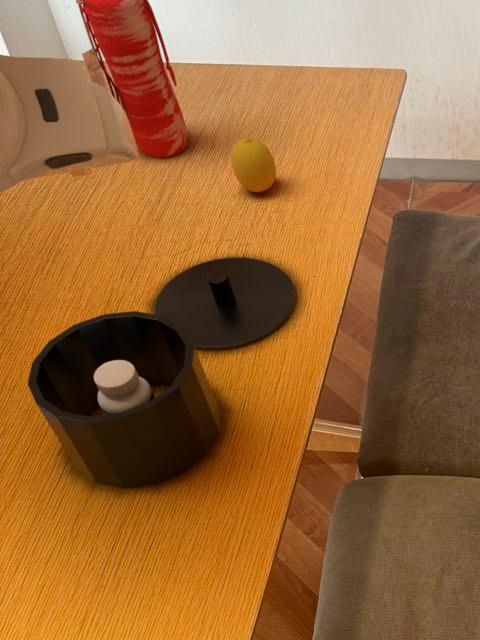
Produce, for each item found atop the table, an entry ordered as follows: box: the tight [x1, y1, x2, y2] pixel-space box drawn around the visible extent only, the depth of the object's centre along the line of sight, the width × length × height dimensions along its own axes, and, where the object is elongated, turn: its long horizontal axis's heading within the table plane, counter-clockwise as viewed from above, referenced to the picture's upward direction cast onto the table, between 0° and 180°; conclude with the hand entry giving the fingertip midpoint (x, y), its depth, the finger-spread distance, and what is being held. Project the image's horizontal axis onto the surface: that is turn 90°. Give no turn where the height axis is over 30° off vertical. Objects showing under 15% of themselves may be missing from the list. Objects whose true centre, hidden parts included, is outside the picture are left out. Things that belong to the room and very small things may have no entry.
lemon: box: [231, 136, 277, 193], centre depth 120 cm, size 6×6×8 cm
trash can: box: [27, 310, 221, 489], centre depth 93 cm, size 16×16×10 cm
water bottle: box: [75, 0, 188, 159], centre depth 119 cm, size 12×8×25 cm, turn 93°
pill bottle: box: [94, 360, 156, 415], centre depth 93 cm, size 5×5×9 cm
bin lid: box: [154, 256, 297, 352], centre depth 108 cm, size 17×17×5 cm
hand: (21, 175), depth 75 cm, fingers open, 8 cm apart
